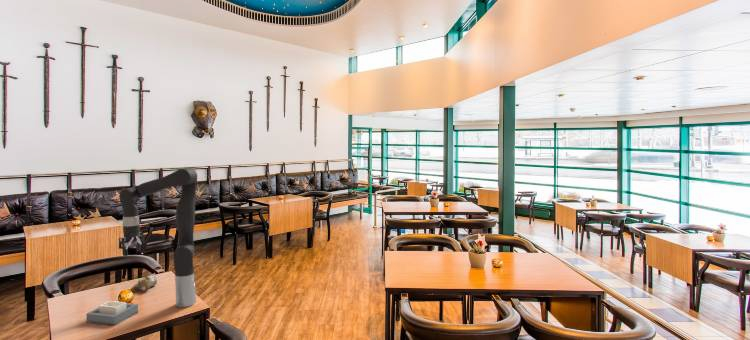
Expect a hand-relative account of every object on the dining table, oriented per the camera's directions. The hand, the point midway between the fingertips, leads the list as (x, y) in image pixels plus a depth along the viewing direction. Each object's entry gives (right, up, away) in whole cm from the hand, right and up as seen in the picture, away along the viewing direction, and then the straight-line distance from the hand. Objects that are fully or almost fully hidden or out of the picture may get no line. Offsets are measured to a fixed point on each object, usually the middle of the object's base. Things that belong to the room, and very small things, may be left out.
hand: (132, 253), depth 200 cm
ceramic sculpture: (-6, -27, +22) cm, 35 cm away
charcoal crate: (0, -29, -14) cm, 32 cm away
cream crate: (0, -28, -14) cm, 32 cm away
